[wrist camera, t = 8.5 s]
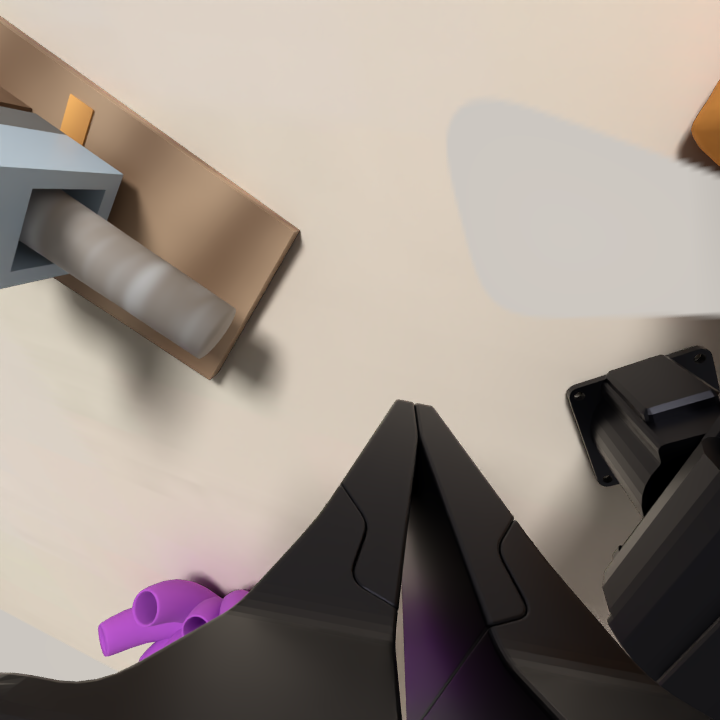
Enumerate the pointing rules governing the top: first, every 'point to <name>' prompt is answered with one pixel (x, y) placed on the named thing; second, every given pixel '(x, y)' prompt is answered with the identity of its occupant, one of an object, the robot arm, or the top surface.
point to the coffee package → (709, 126)
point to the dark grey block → (26, 120)
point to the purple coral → (163, 616)
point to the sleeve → (44, 171)
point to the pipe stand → (145, 218)
